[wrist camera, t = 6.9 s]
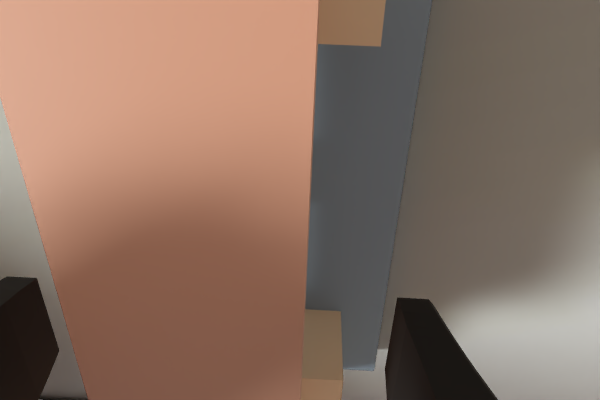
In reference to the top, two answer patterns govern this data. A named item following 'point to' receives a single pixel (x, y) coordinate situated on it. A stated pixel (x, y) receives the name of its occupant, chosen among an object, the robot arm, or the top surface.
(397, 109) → the stand
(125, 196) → the terracotta bar
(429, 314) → the robot arm
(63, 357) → the top surface
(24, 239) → the top surface
